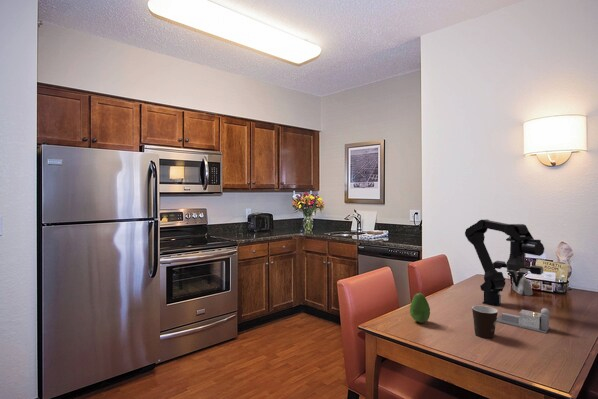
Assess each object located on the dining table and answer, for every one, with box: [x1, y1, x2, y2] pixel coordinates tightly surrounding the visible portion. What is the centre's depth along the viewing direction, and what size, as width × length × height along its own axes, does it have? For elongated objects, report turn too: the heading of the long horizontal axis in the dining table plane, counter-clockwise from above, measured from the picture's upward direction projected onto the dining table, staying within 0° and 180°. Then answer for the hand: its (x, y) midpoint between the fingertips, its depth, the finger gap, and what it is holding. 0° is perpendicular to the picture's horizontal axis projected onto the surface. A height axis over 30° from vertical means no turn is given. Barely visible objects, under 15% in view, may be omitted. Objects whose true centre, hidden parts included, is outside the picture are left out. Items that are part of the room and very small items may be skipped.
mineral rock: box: [511, 274, 534, 296], centre depth 189 cm, size 13×11×10 cm
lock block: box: [518, 309, 542, 330], centre depth 141 cm, size 7×6×6 cm
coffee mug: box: [471, 305, 499, 340], centre depth 133 cm, size 12×9×10 cm
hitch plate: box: [496, 307, 551, 334], centre depth 143 cm, size 18×8×9 cm, turn 46°
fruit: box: [409, 292, 431, 324], centre depth 145 cm, size 8×8×12 cm
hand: (516, 286), depth 157 cm, fingers closed
